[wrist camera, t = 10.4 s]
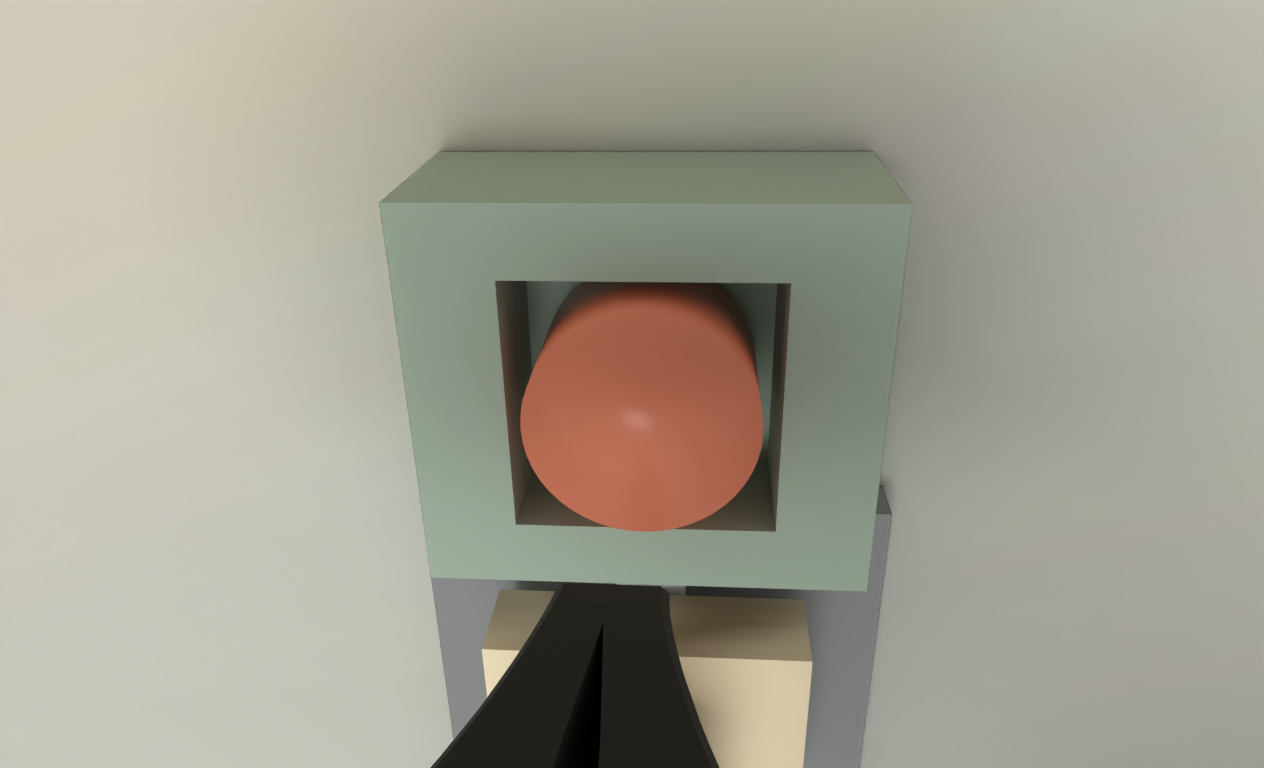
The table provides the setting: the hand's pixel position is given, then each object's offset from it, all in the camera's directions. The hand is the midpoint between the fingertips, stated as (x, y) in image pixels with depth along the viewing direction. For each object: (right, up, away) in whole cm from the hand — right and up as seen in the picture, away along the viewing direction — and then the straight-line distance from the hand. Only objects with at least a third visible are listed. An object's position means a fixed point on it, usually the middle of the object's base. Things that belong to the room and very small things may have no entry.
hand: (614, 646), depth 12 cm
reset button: (+1, +4, +8) cm, 9 cm away
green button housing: (+1, +5, +9) cm, 10 cm away
